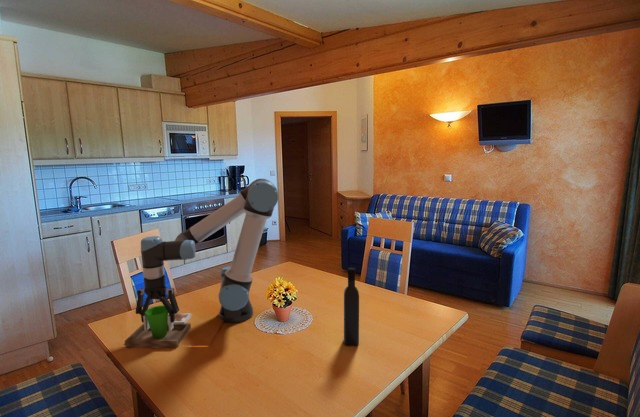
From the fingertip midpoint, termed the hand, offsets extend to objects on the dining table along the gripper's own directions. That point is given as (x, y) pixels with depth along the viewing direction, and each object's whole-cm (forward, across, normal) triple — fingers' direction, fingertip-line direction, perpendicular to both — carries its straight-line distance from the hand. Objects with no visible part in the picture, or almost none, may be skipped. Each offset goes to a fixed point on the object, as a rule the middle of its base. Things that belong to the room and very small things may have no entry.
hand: (159, 329), depth 140 cm
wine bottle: (+4, -77, +3) cm, 77 cm away
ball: (+3, -2, -14) cm, 14 cm away
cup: (+3, 0, 0) cm, 3 cm away
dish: (+4, -2, -14) cm, 15 cm away
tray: (+4, 0, 0) cm, 4 cm away
